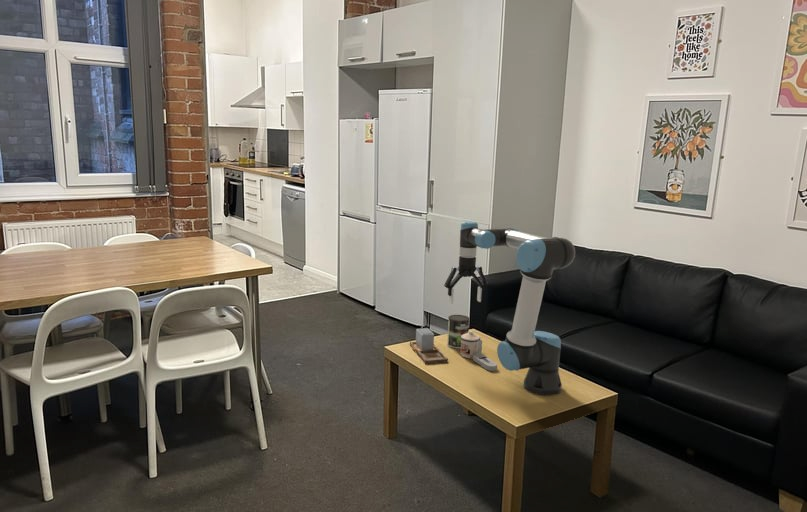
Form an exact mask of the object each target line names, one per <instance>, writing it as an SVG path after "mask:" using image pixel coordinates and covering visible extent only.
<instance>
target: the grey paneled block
mask: <svg viewBox="0 0 807 512" xmlns="http://www.w3.org/2000/svg"><path fill="white" fill-rule="evenodd" d="M434 341H435V334H434V333H433V331H432V330H430V329H429V327H425V328H423V327H422V328H416V329H415V342H416V346H417V347H418V348H419V349H420V350H433V347H434V345H435V344H434Z"/></svg>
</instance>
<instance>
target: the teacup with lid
mask: <svg viewBox="0 0 807 512" xmlns="http://www.w3.org/2000/svg"><path fill="white" fill-rule="evenodd" d="M478 340H481V337H480V336H479V335H478V334H475V333H474V331H472V330H470V331H469V332H468V333H467V334H463V335H462V336H461V349H460V354H459V355H460V356H461V357H463V358H465V359H473V355H474V354H476V353H477V347H478Z"/></svg>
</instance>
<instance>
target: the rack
mask: <svg viewBox="0 0 807 512" xmlns="http://www.w3.org/2000/svg"><path fill="white" fill-rule="evenodd" d="M409 346H410V348H411V349H412V350H413V351H414V353H416V354H417V356H418V358H420V359H421V361H422V362H423V363H424V365H431V364H443V363H448V362H449V359H448V357H447V356H446V355H445V354H444V353H443V352H442V351H441V350H440V349H439V348H438V347H437V346H436V345H435V344H434V347H433V350H420V349H419V348H418V347H417V346H416V341H410V342H409Z"/></svg>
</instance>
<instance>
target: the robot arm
mask: <svg viewBox="0 0 807 512" xmlns="http://www.w3.org/2000/svg"><path fill="white" fill-rule="evenodd" d="M459 233H460V235H459V256H458V258H459V259H458V266H457V267H455V266H452V267H451V271H450V273H449V275H448V277H447V279H446V280H445V283H444V284H443V286H444V287H445V288H446V289H447V295H448V296H449V303H450V304H454V294H455V293H454V291H455V290H454V287H455V286H456V285H457V283H458V282H459V281H460V280H461V279H462V278H467V277H472V278H473V280H474V282H476V283H477V284H478V286H477V295H476V301H477V302H478V303H481V302H482V295H483V294H484V289H485V288H486V287H488V286H489V285H488V282H487V279H486V278H485V274H484V272H483V267H482V266H480V265H477V266H476V262H477V249H478V247H479V249H480V248H481V249H486V250H487V249H488V250H489V249H491V248H493V247H508V248H512V249H516V250H517V251H516V255H515V258H516V259H515V261H517V262H516V265H517V267H518V269H519V272H520V274H521V275H522V279H521V285H520V289H519V294H518V298H517V302H516V306H515V307H516V308H515V312H514V316H513V322H512V327H511V330H509V331H508V332H507V333H506V336H505V340H502V341H501V342H499V343H498V344H497V348H496V352H497V358H498V361H499V362H500V364H501V365H502V367H503V368H504V369H506V371H507V370H508V371H520V370H525V369H528V370H527V372H526V374H525V377H524V379H523V387H524V389H525V390H527V391H528V392H530V393H532V394H535V395H540V396H556V395H558V394H560V393H561V392H562V387H563V386H562V381H561V375H560V374H559V373H560V372H559V369H560V359H561V349H562V345H561V344H562V339H561V338H560V336H558V334H555V333H553V332H552V333H551V332H548V331H543V330H536V326H537V322H538V317H539V313H540V309H541V305H542V301H543V296H544V291H545V287H546V282H547V281H549V280H550V279H552V276H553V272H554V270H561V269H564V268H568V266H570V265H571V264H572V263H574V260H575V257H576V248H575V245H574V244H573V243H572V241H570V240H569V239H567V238H564V237H557V236H553V237H550V238H549V237H545V236H540V235H536V234H532V233H528V232H523V231H519V230H518V229H517V228H514V227H513V228H512V227H508V228H494V229H493V228H489V229H487V228H486V229H483V228H482V229H481V228H479V224H478V222H477V221H471V220H470V221H468V220H467V221H462V222H461V224H460V232H459ZM476 271H477V272H478V275H479V277H478V276H477V274H476V273H475V272H476ZM457 272H458V273H457ZM456 273H457V274H456ZM455 275H456V276H455ZM479 278H480V279H479Z"/></svg>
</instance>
